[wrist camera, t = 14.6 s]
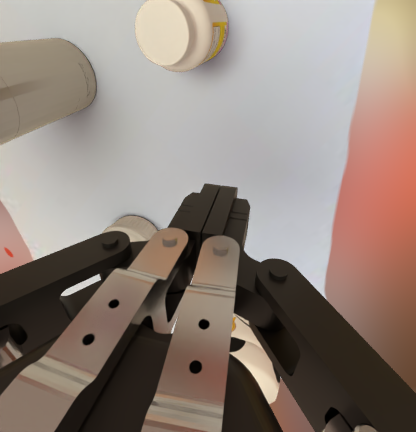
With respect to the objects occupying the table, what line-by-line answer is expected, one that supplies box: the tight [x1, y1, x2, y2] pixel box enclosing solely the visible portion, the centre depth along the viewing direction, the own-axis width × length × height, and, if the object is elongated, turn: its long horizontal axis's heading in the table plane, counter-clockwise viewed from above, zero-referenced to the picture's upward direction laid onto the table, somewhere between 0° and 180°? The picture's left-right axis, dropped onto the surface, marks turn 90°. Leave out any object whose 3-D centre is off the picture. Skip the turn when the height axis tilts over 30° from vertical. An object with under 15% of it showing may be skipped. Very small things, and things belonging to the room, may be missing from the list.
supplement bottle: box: [135, 0, 228, 72], centre depth 27 cm, size 7×7×13 cm
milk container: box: [229, 313, 280, 404], centre depth 50 cm, size 17×17×18 cm
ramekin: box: [103, 216, 157, 242], centre depth 53 cm, size 11×11×5 cm
